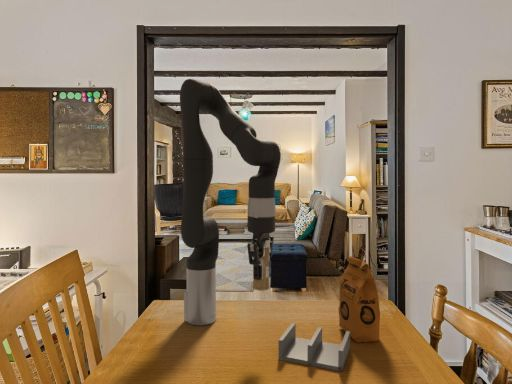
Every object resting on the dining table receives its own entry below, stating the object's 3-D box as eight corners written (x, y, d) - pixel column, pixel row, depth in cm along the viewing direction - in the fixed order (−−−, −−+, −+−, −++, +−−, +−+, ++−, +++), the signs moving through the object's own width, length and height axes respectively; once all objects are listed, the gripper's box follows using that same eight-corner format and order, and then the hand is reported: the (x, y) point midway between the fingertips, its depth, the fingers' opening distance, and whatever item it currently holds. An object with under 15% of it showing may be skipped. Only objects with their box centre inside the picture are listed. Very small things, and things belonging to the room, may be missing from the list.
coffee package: (351, 345, 104) (352, 265, 103) (335, 327, 117) (335, 255, 116) (385, 342, 106) (386, 264, 105) (365, 325, 118) (366, 254, 117)
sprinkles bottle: (272, 289, 103) (273, 240, 102) (258, 292, 101) (259, 241, 100) (263, 285, 107) (263, 237, 106) (249, 287, 104) (249, 239, 104)
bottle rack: (278, 359, 96) (278, 340, 96) (292, 340, 107) (292, 322, 107) (342, 371, 90) (342, 351, 90) (349, 349, 101) (350, 331, 101)
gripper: (258, 211, 111) (257, 269, 112) (237, 216, 97) (237, 282, 98) (282, 212, 108) (282, 272, 109) (265, 217, 95) (264, 285, 96)
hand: (260, 276), depth 104 cm, fingers closed on sprinkles bottle, 4 cm apart
